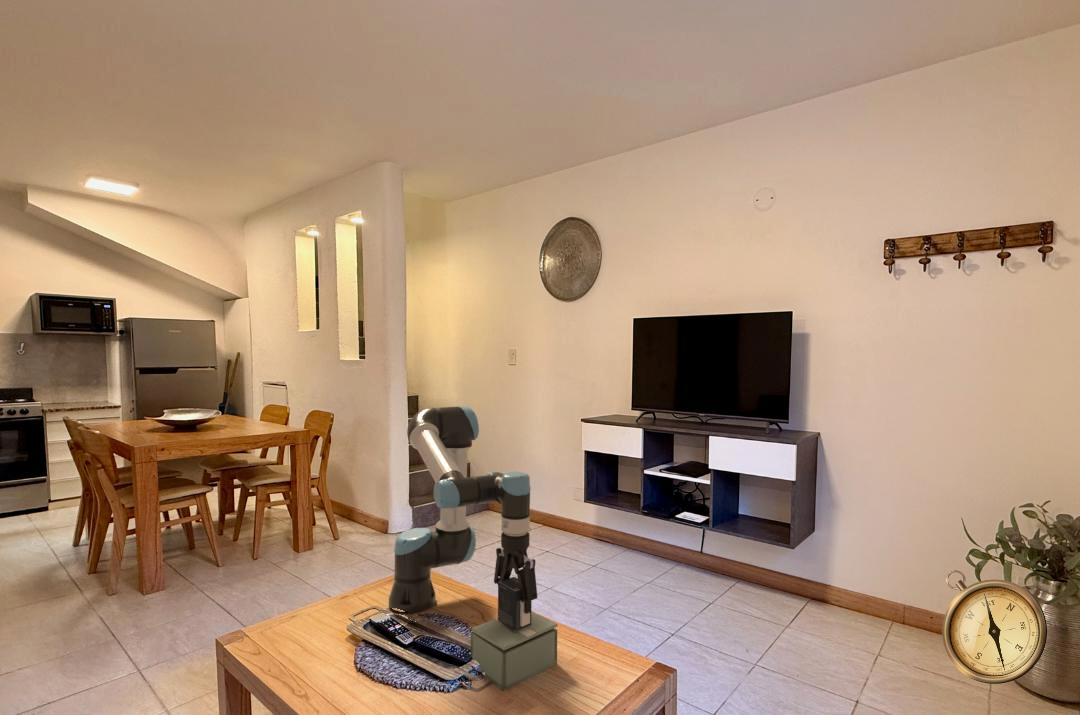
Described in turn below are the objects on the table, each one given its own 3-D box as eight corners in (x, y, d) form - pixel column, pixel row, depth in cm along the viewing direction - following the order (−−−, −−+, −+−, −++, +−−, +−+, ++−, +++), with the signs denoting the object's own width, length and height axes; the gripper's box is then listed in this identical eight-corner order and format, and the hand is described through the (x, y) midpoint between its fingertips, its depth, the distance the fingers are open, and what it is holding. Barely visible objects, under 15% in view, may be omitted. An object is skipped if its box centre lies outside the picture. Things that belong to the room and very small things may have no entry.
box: (531, 625, 138) (532, 585, 138) (514, 632, 134) (514, 590, 134) (514, 614, 144) (514, 575, 144) (497, 620, 140) (497, 580, 140)
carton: (470, 665, 138) (471, 632, 138) (523, 642, 150) (523, 611, 150) (503, 690, 128) (503, 654, 128) (556, 663, 140) (557, 630, 140)
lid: (471, 631, 138) (471, 627, 138) (524, 610, 150) (524, 607, 150) (504, 650, 128) (504, 646, 128) (557, 626, 140) (557, 623, 140)
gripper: (481, 525, 145) (480, 608, 144) (530, 545, 129) (529, 638, 129) (502, 520, 150) (501, 600, 149) (552, 538, 134) (551, 628, 134)
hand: (514, 618), depth 139 cm, fingers closed on box, 8 cm apart
